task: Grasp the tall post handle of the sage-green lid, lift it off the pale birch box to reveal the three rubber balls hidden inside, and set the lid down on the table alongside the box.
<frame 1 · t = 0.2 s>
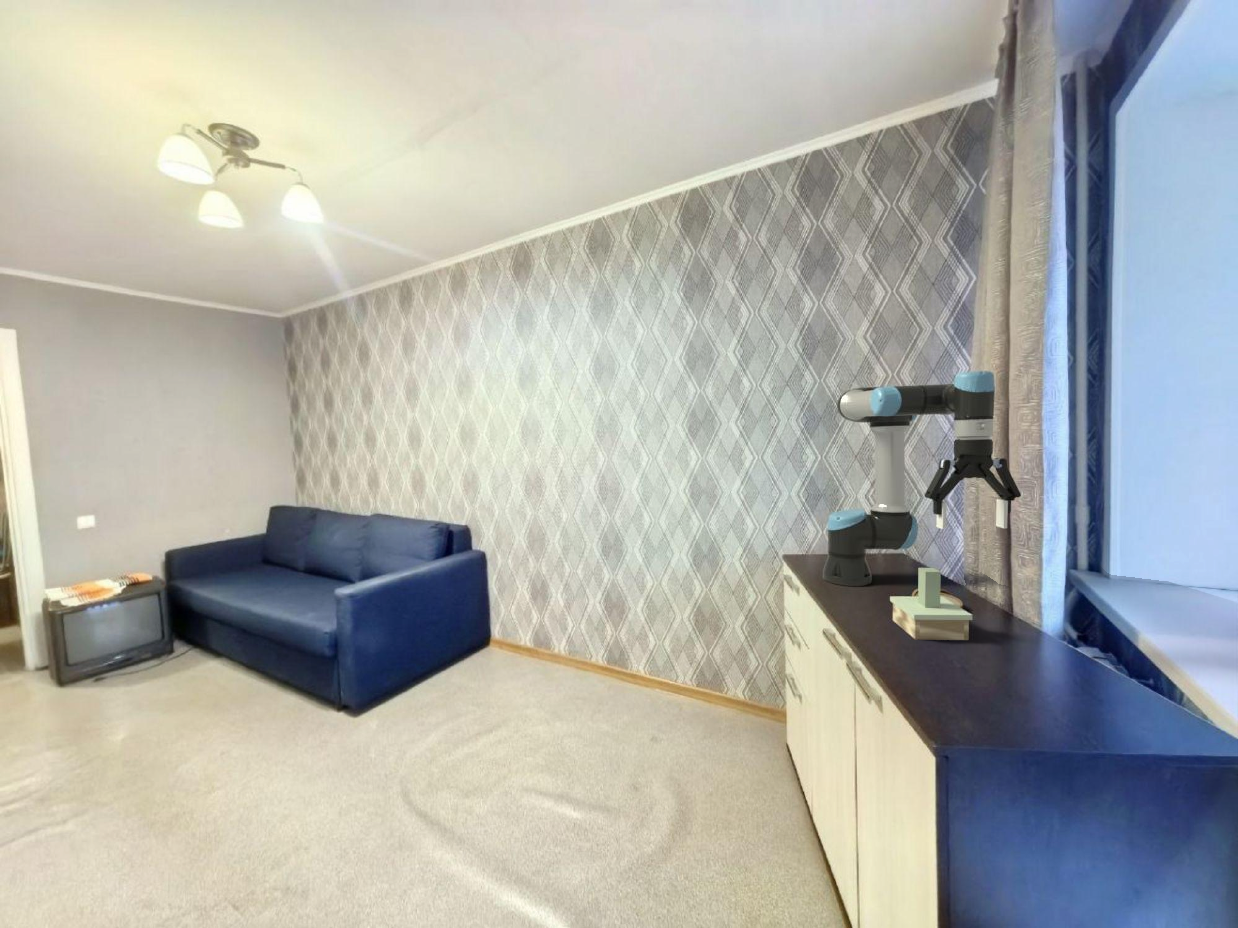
hand: (971, 527, 118), 27 cm above the table, fingers open, 13 cm apart
alarm clock: (935, 609, 141), on the table
ball terracotta: (913, 625, 128), point 1 cm above the table, touching box
box: (928, 633, 125), on the table
lid: (928, 609, 124), point 6 cm above the table, touching box
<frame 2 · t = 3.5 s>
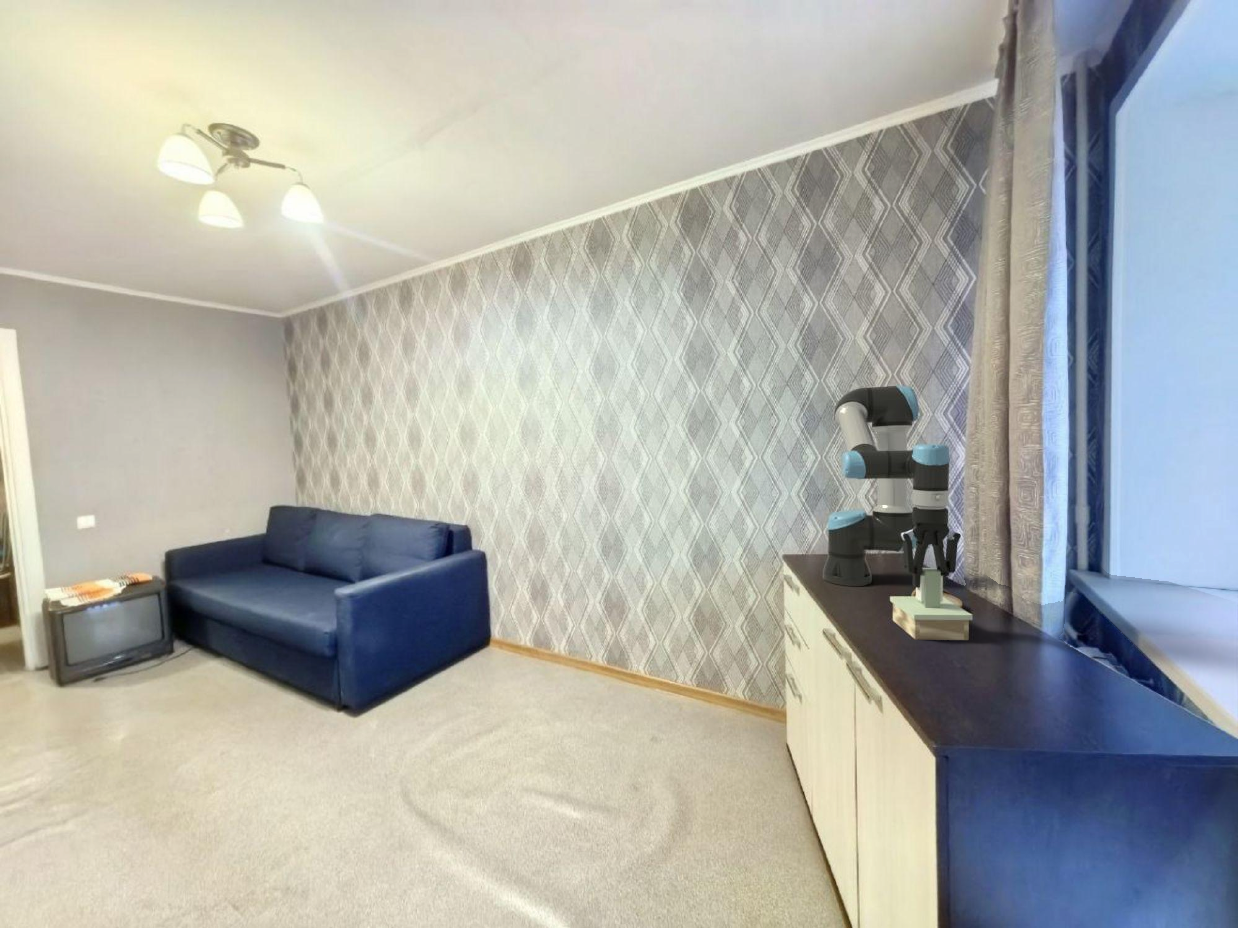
hand: (928, 599, 124), 9 cm above the table, fingers closed on lid, 3 cm apart
lid: (928, 609, 124), point 6 cm above the table, touching box, gripper
everything else where it was.
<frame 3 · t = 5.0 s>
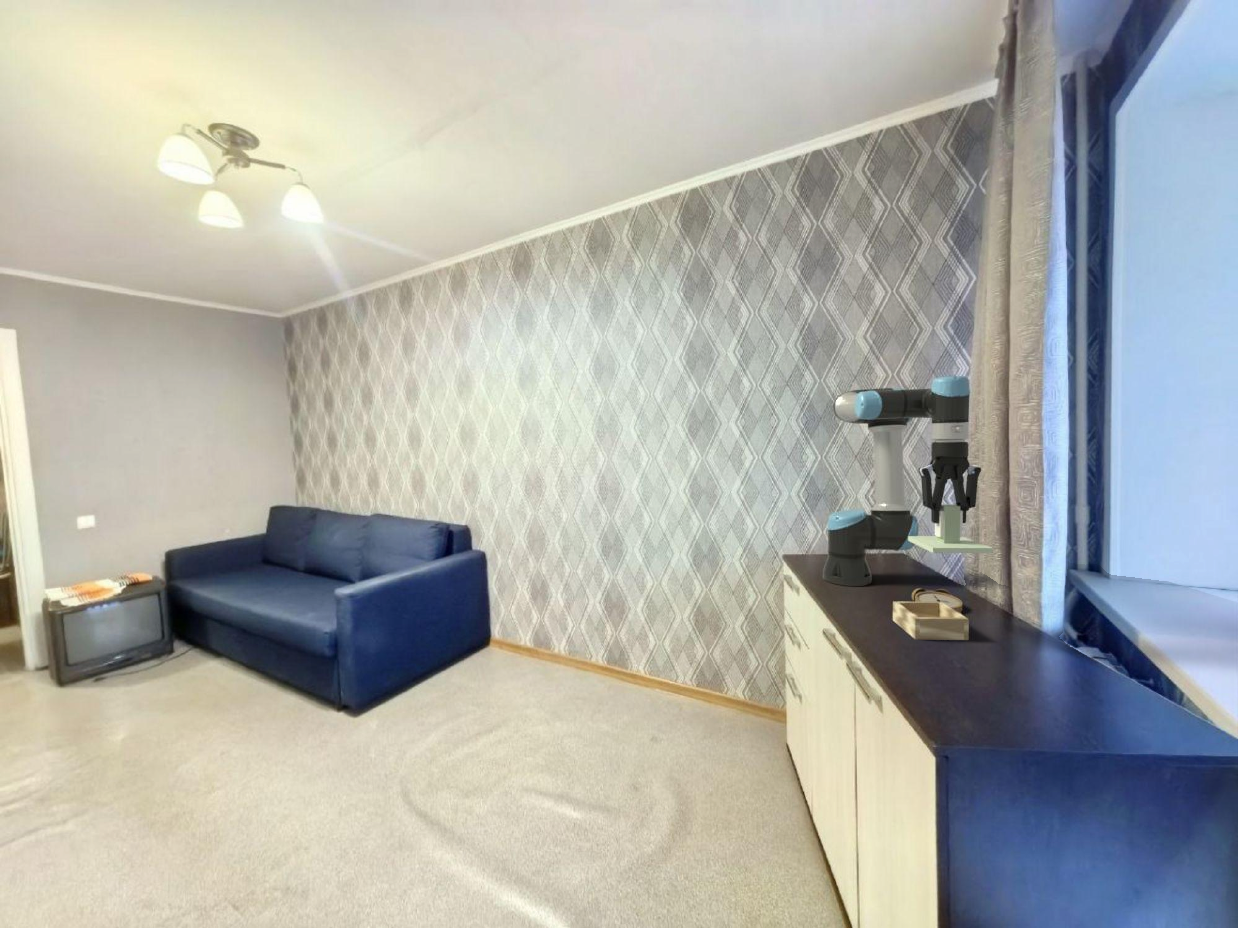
hand: (948, 536, 123), 25 cm above the table, fingers closed on lid, 3 cm apart
lid: (948, 546, 123), point 22 cm above the table, touching gripper
everything else where it was.
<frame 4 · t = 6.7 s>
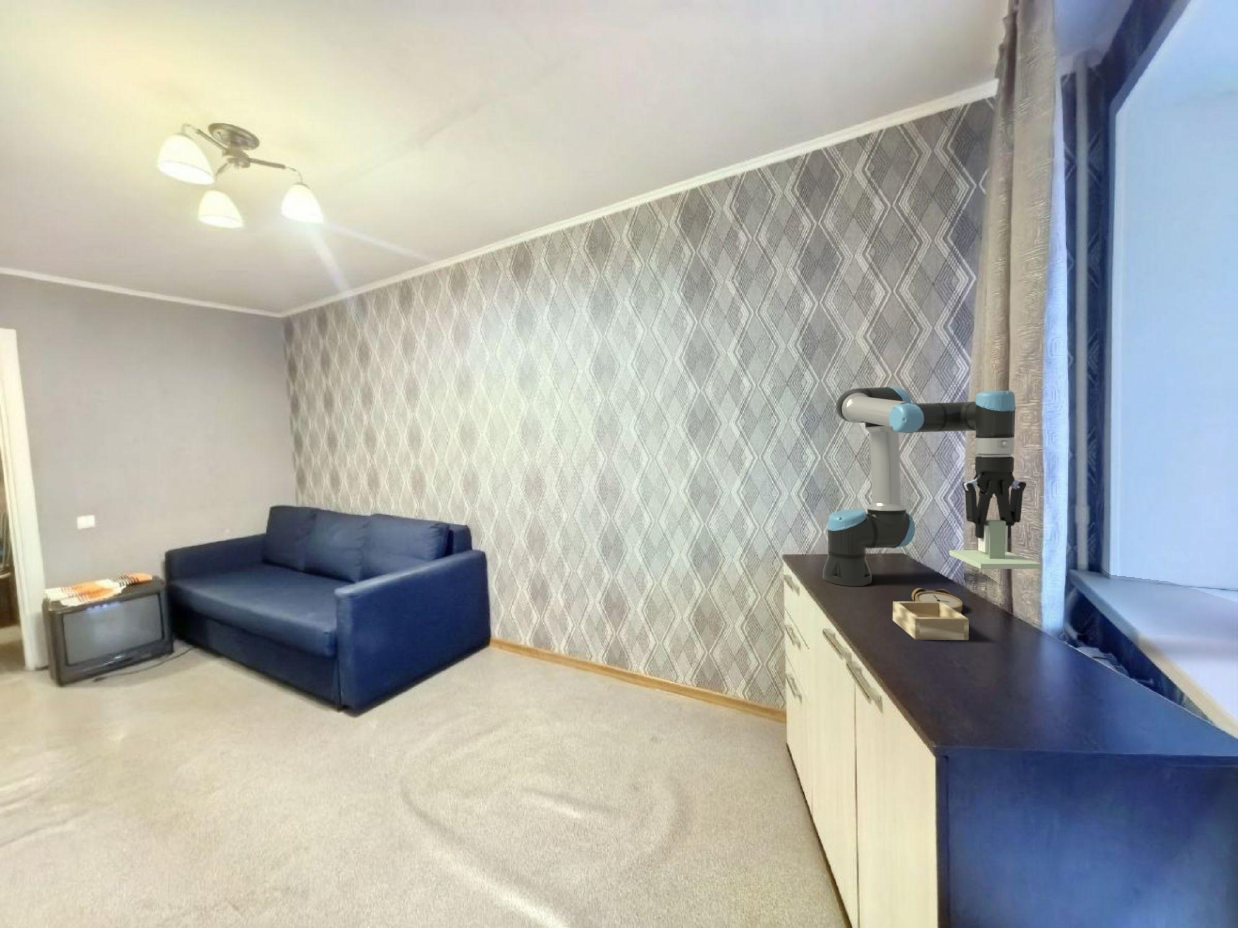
hand: (992, 550, 122), 21 cm above the table, fingers closed on lid, 3 cm apart
lid: (992, 561, 122), point 18 cm above the table, touching gripper
everything else where it was.
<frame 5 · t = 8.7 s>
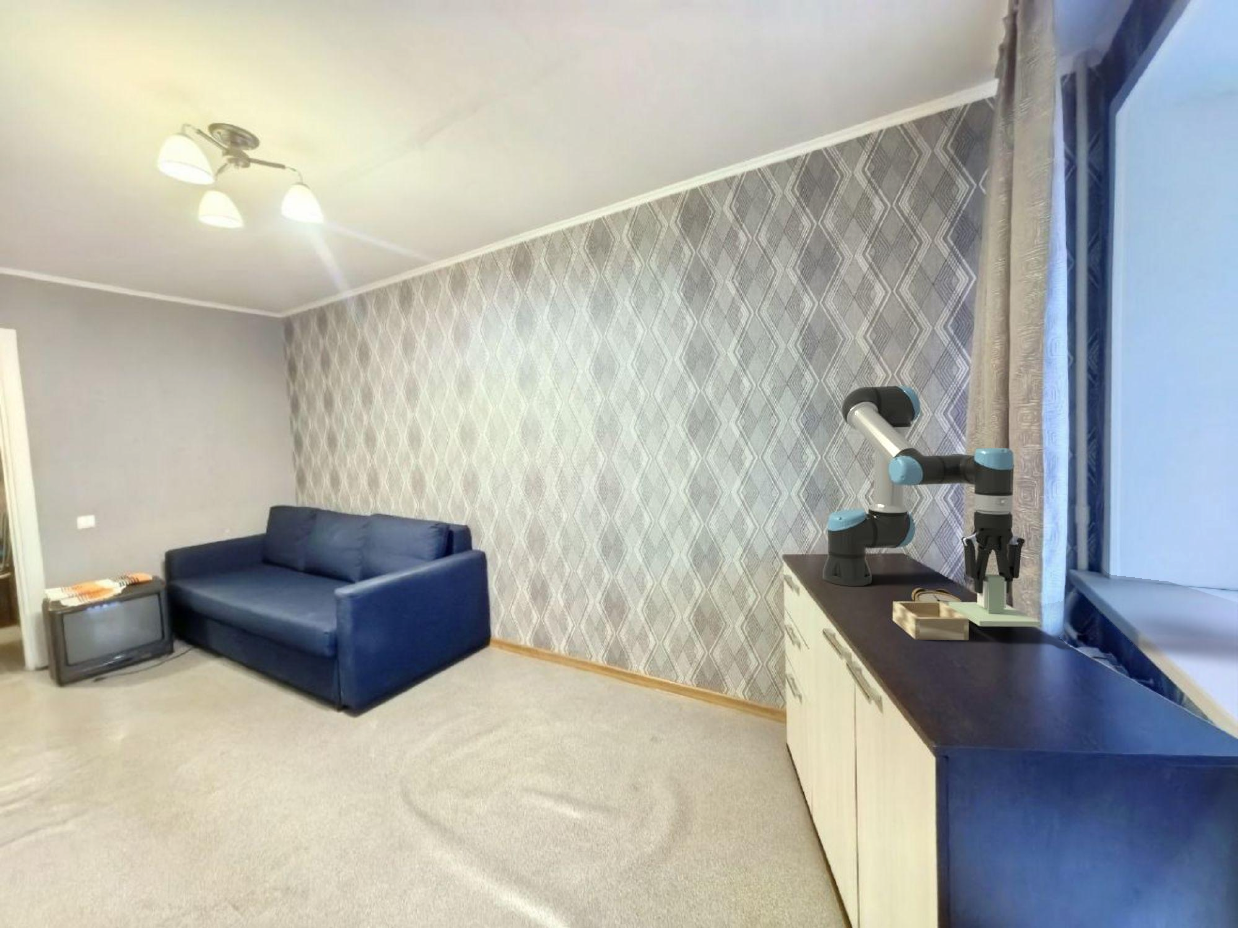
hand: (991, 605, 123), 7 cm above the table, fingers closed on lid, 3 cm apart
lid: (991, 615, 123), point 5 cm above the table, touching gripper
everything else where it was.
when the fingers open (4 cm above the table, at t = 10.1 s): lid drops 2 cm, on the table.
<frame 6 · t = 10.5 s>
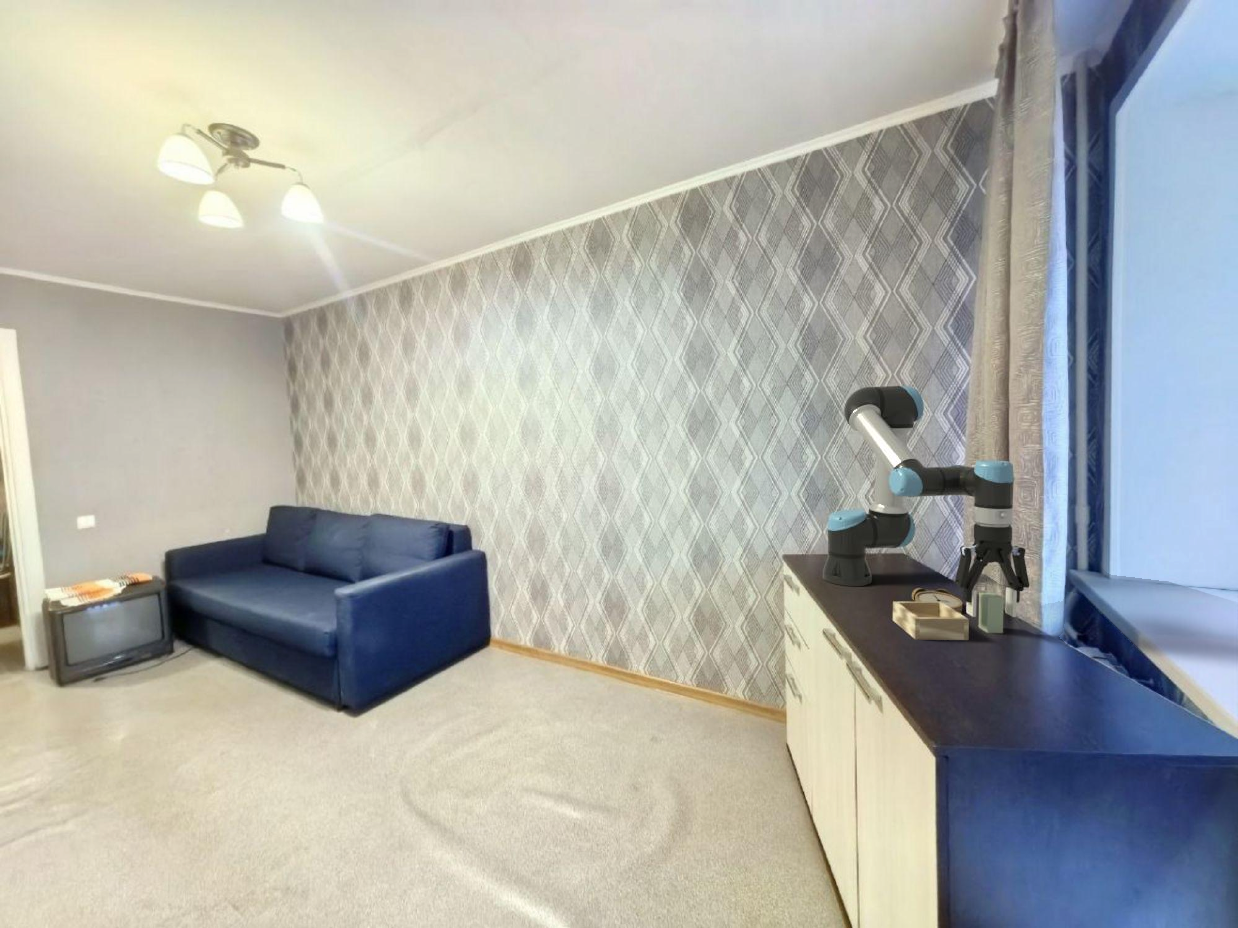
hand: (990, 614, 123), 5 cm above the table, fingers open, 8 cm apart
lid: (990, 635, 123), on the table
everything else where it was.
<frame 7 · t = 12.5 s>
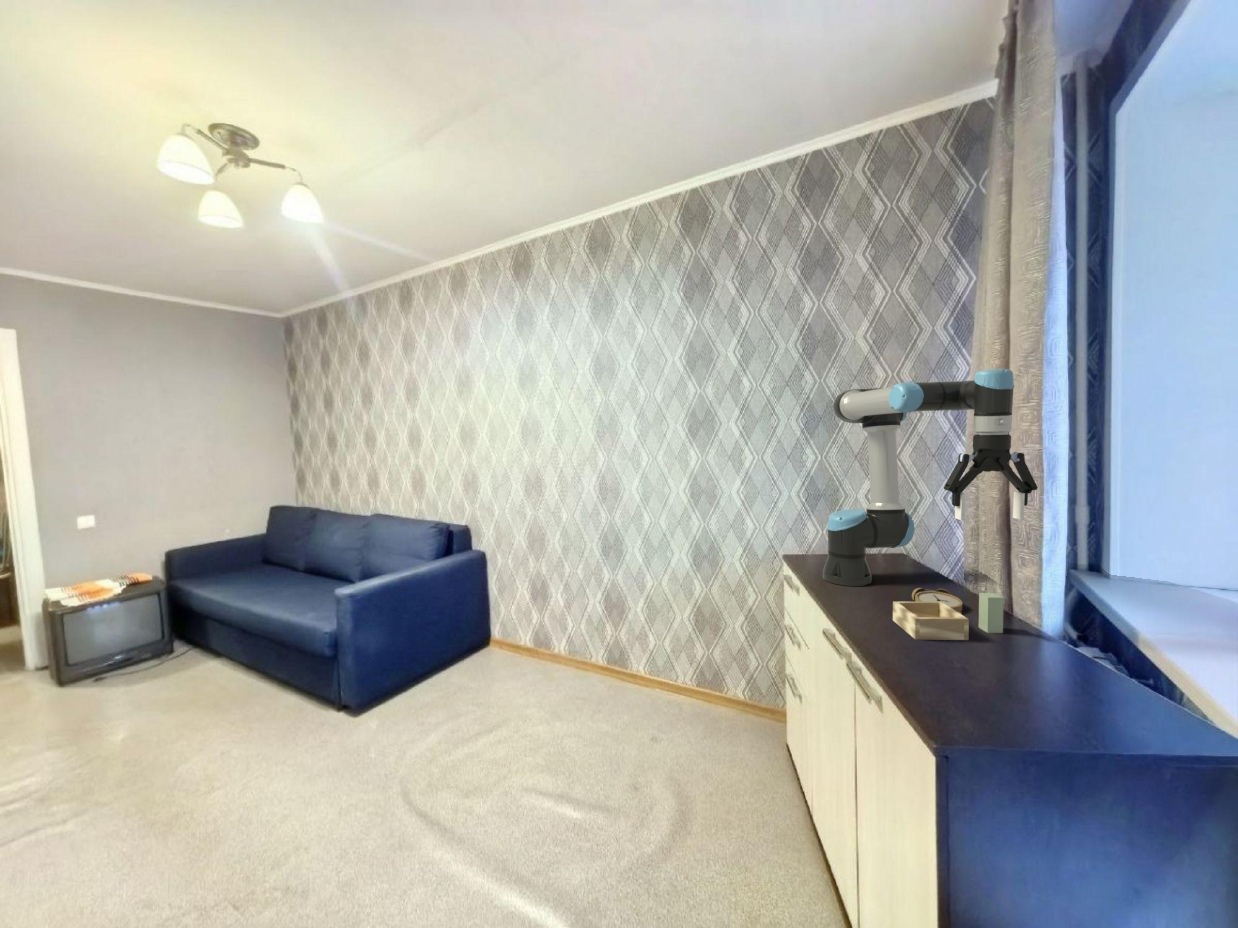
hand: (988, 519, 124), 28 cm above the table, fingers open, 13 cm apart
nothing on the table moved.
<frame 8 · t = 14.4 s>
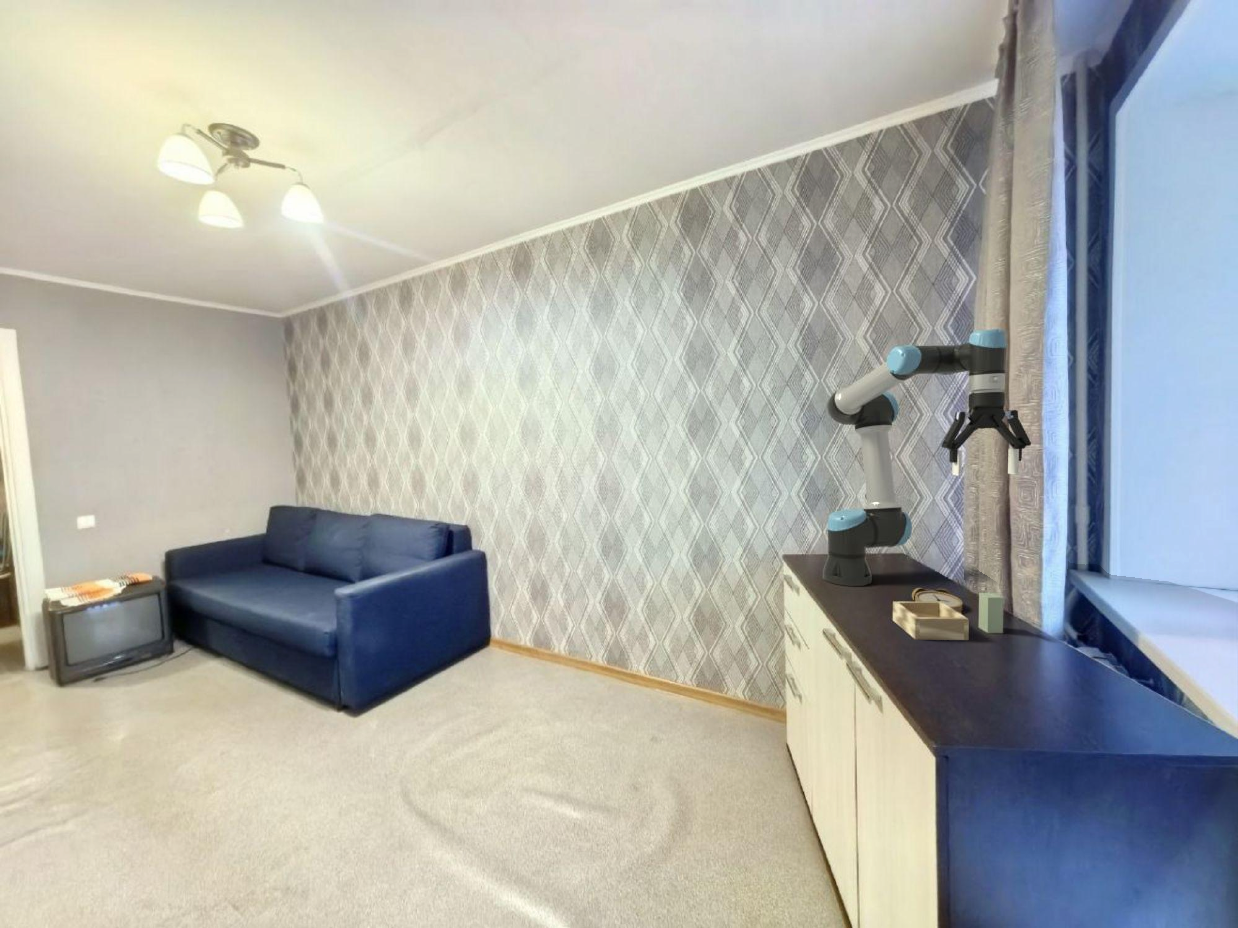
hand: (984, 474, 129), 39 cm above the table, fingers open, 13 cm apart
nothing on the table moved.
at the end: lid inside the target area (0.5 cm from its centre), on the table; lid touching table; the gripper is holding nothing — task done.
